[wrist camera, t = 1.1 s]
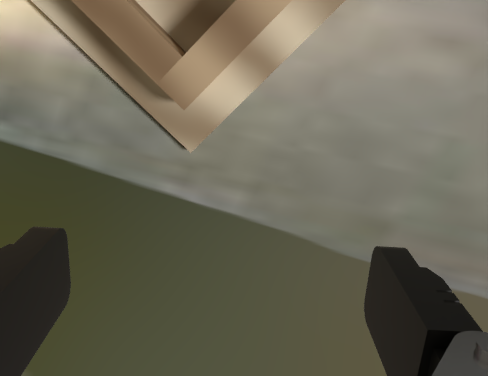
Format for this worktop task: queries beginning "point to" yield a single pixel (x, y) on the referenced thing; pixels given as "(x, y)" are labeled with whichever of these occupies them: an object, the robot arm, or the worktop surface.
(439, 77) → the worktop surface
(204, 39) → the socket block
